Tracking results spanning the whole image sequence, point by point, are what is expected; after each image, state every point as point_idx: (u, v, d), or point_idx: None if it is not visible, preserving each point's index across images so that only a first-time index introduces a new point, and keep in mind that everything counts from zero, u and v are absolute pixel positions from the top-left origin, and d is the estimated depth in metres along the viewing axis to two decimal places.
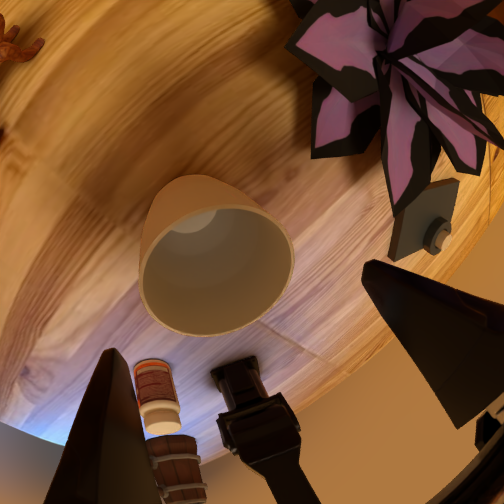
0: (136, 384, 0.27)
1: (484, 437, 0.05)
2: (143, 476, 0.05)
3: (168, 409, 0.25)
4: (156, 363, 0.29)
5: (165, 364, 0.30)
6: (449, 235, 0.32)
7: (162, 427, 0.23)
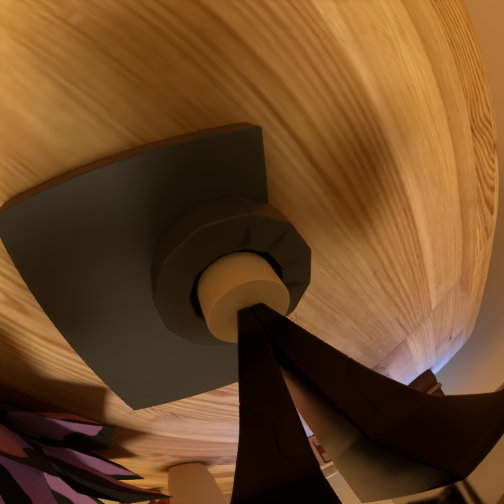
0: None
1: None
2: None
3: None
4: None
5: None
6: (212, 321, 0.08)
7: None
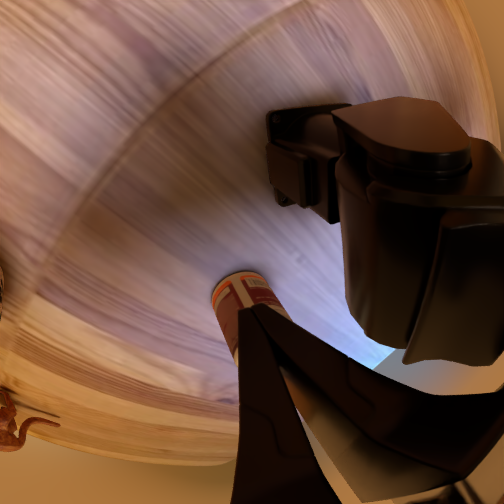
0: None
1: None
2: None
3: None
4: (214, 297, 0.20)
5: (224, 282, 0.20)
6: None
7: None
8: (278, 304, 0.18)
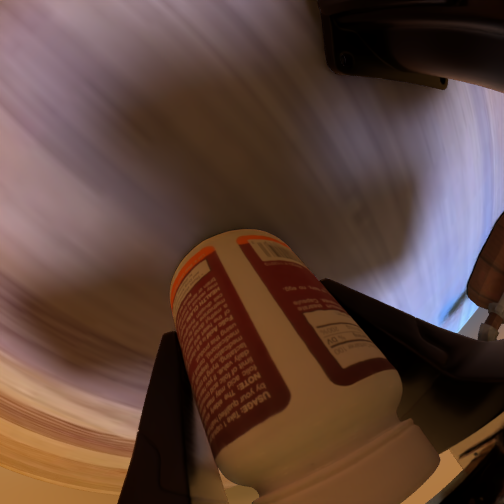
0: None
1: None
2: (211, 463, 0.06)
3: (283, 473, 0.04)
4: (174, 287, 0.08)
5: (197, 252, 0.08)
6: None
7: None
8: (341, 308, 0.06)
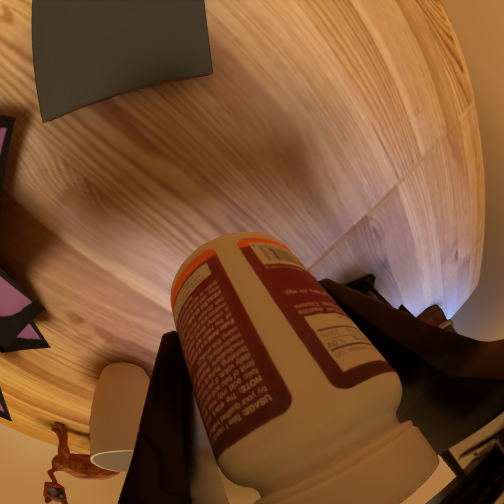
0: None
1: None
2: (211, 463, 0.06)
3: (285, 473, 0.04)
4: (175, 290, 0.08)
5: (197, 255, 0.08)
6: None
7: None
8: (342, 311, 0.06)
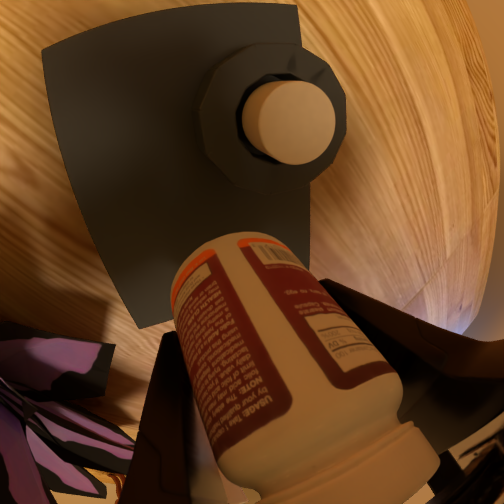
0: None
1: None
2: (211, 463, 0.06)
3: (285, 475, 0.04)
4: (174, 290, 0.08)
5: (197, 255, 0.08)
6: (263, 121, 0.07)
7: None
8: (342, 311, 0.06)
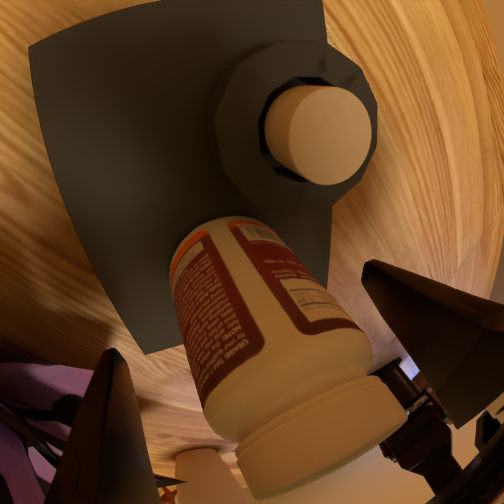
0: None
1: (484, 437, 0.05)
2: (144, 476, 0.05)
3: (260, 415, 0.05)
4: (173, 266, 0.09)
5: (193, 235, 0.09)
6: (294, 134, 0.06)
7: (318, 475, 0.04)
8: (316, 280, 0.08)
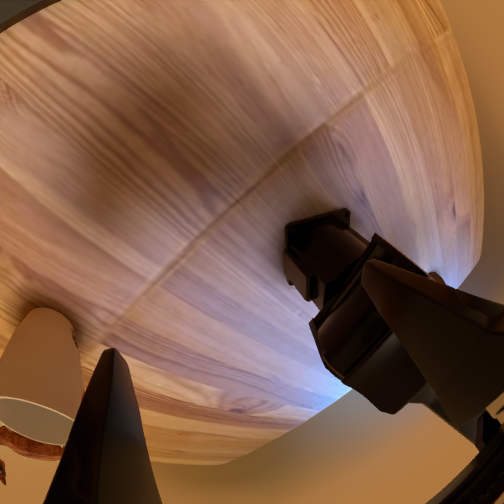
0: None
1: (484, 437, 0.05)
2: (144, 476, 0.05)
3: None
4: None
5: None
6: None
7: None
8: None
